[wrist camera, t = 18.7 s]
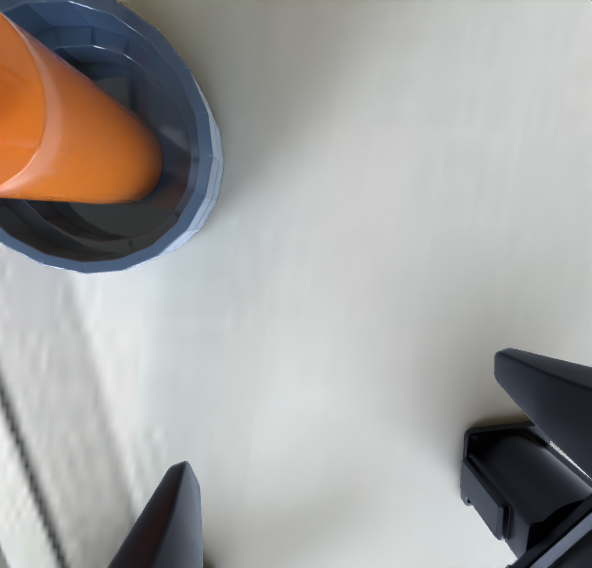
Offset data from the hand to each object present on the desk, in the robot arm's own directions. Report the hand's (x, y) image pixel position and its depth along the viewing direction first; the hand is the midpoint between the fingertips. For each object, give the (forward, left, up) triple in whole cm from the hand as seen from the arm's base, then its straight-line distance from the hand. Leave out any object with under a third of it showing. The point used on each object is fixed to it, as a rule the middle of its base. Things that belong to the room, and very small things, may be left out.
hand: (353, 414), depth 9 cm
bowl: (+10, -9, -12) cm, 18 cm away
